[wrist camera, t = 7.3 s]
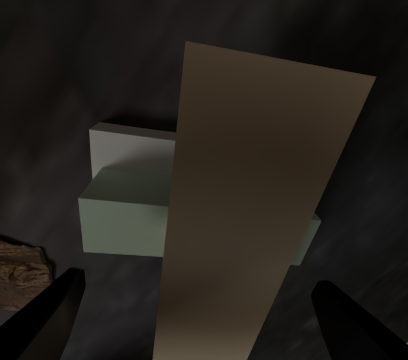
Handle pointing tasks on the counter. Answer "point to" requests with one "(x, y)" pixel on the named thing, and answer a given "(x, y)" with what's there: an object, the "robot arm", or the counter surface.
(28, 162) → the counter surface
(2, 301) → the fossil slab
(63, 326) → the robot arm
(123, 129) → the fulcrum board
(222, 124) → the beech bar
